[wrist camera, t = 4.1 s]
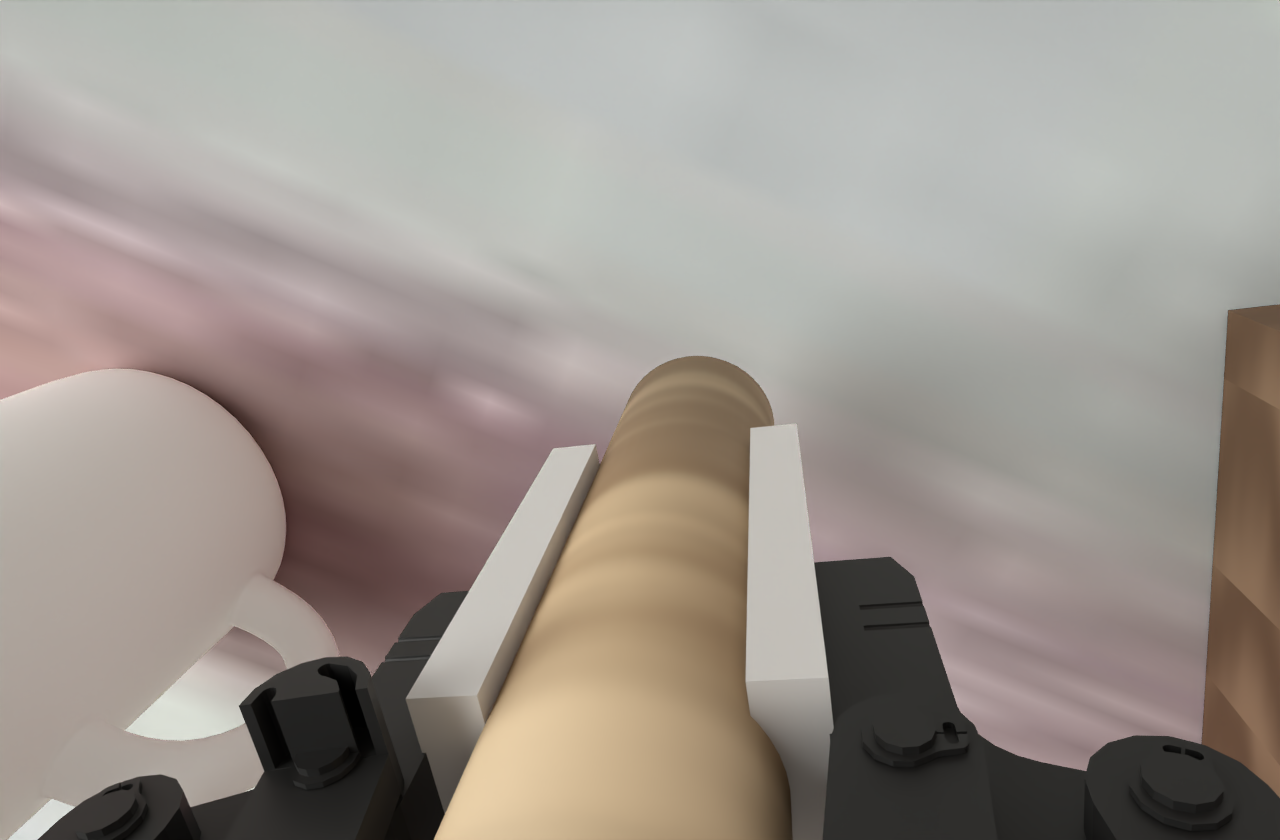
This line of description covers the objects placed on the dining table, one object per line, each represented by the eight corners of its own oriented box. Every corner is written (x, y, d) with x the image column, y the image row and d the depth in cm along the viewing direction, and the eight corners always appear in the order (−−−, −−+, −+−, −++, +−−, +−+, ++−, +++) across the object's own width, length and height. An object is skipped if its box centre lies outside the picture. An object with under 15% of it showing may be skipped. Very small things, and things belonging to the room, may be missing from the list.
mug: (454, 501, 23) (232, 768, 14) (364, 712, 26) (130, 1054, 17) (60, 309, 23) (-449, 442, 13) (15, 544, 26) (-429, 791, 16)
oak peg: (611, 366, 18) (356, 818, 6) (765, 346, 17) (773, 806, 6) (637, 502, 19) (455, 1095, 7) (782, 489, 18) (819, 1107, 7)
